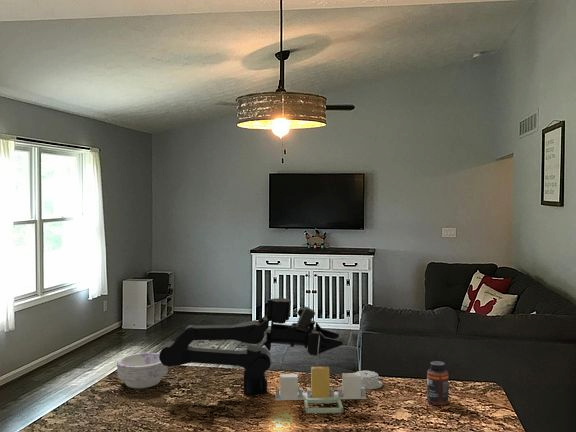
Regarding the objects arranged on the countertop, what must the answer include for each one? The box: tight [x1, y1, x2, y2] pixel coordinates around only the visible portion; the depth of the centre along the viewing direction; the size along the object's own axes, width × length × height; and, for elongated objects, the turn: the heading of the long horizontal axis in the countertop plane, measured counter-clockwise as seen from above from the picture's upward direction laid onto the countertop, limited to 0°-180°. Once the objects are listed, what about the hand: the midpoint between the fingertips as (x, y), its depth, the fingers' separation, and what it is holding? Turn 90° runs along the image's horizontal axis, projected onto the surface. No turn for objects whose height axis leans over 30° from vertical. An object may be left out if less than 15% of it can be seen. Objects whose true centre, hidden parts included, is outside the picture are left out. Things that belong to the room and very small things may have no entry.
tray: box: [303, 398, 345, 414], centre depth 161 cm, size 10×8×2 cm
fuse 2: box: [341, 372, 361, 397], centre depth 170 cm, size 5×3×6 cm, turn 92°
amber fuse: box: [310, 366, 331, 398], centre depth 170 cm, size 5×3×8 cm, turn 92°
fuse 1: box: [279, 373, 299, 398], centre depth 169 cm, size 5×3×6 cm, turn 92°
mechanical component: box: [355, 369, 383, 390], centre depth 180 cm, size 10×4×10 cm
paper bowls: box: [116, 352, 168, 389], centre depth 183 cm, size 15×15×8 cm
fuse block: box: [274, 386, 368, 401], centre depth 170 cm, size 26×6×3 cm, turn 92°
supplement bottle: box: [426, 360, 450, 406], centre depth 167 cm, size 6×6×11 cm
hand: (340, 339), depth 173 cm, fingers open, 9 cm apart
